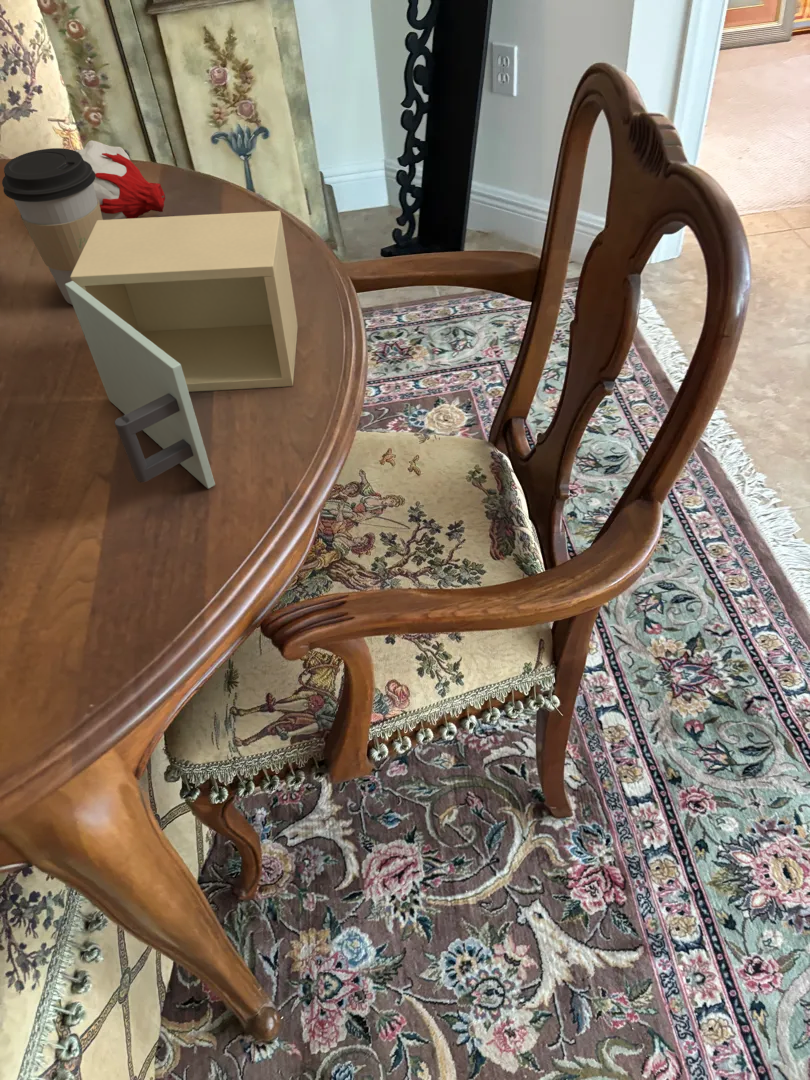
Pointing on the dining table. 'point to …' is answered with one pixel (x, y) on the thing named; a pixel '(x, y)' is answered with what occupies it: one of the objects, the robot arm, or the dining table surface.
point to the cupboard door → (142, 392)
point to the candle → (120, 183)
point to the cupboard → (201, 293)
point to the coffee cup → (55, 205)
